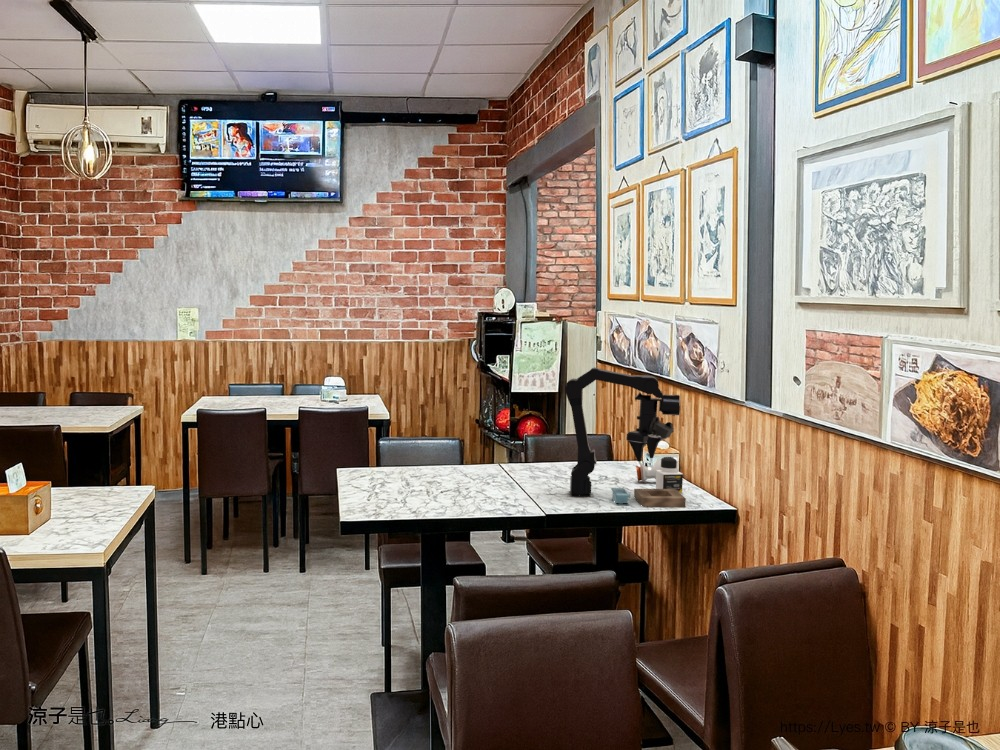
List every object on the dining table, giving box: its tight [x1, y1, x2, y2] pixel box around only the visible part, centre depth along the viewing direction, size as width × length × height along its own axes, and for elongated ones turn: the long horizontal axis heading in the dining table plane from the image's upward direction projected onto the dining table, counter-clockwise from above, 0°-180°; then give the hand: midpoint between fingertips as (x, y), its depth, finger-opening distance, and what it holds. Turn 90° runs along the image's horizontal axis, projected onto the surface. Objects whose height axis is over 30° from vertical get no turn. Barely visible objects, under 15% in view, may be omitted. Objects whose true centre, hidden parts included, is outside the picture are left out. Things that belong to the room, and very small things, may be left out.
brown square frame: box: [633, 488, 687, 508], centre depth 301 cm, size 14×14×3 cm
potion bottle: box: [635, 458, 680, 483], centre depth 332 cm, size 9×10×15 cm
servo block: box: [611, 487, 630, 504], centre depth 301 cm, size 4×11×4 cm, turn 3°
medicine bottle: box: [655, 456, 684, 495], centre depth 317 cm, size 7×7×12 cm
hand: (645, 459), depth 306 cm, fingers open, 9 cm apart
